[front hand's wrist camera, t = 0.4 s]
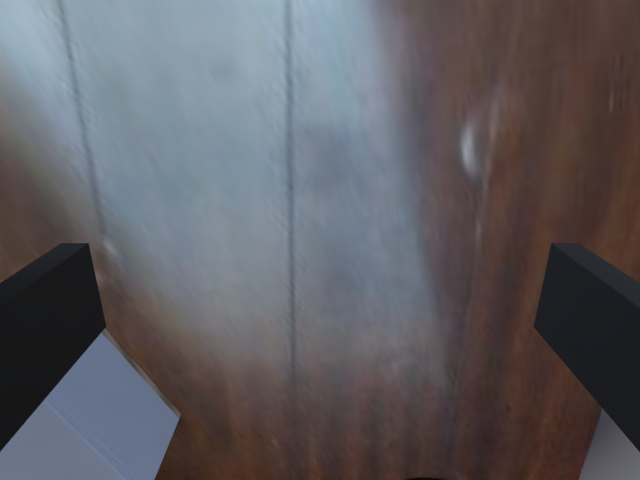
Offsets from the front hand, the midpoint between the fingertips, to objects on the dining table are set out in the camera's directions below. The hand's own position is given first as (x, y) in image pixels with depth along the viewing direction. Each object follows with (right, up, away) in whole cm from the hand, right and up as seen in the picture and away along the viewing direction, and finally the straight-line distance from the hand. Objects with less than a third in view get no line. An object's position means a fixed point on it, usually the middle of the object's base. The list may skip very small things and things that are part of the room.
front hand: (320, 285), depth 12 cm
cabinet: (-25, -14, +35) cm, 46 cm away
